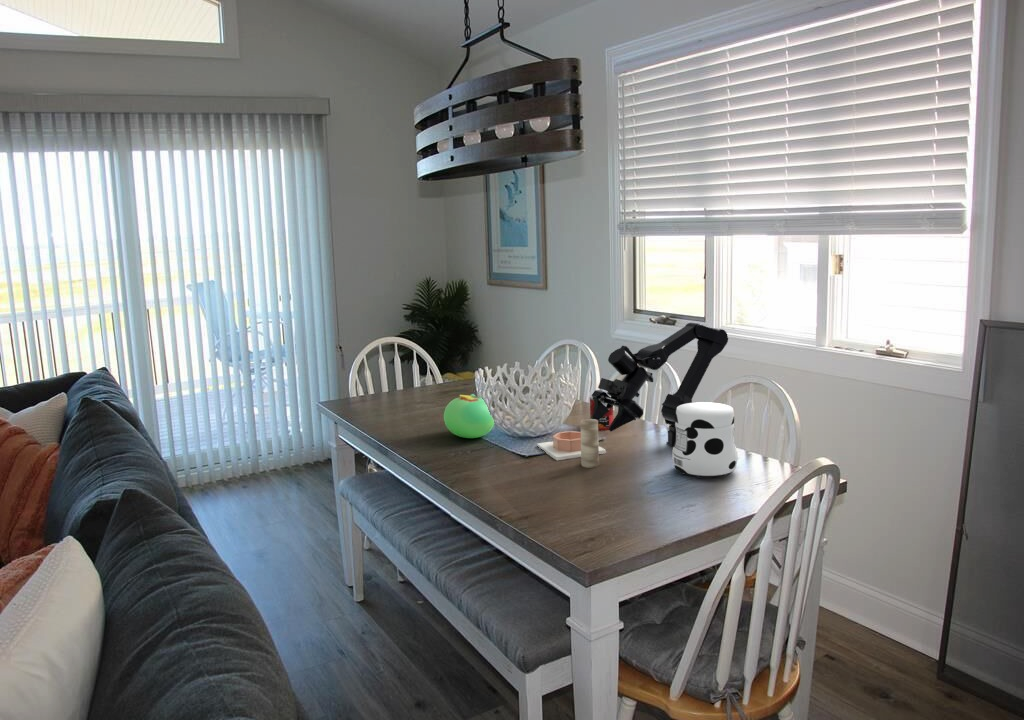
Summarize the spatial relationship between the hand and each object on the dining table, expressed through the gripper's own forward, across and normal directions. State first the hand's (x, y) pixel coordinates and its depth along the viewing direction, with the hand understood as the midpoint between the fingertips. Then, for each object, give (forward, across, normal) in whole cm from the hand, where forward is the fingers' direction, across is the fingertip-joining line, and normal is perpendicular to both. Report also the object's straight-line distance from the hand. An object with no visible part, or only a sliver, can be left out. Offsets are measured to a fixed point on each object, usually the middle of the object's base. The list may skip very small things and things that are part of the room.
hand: (600, 427), depth 222 cm
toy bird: (+21, -48, -5) cm, 52 cm away
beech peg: (+10, 0, +5) cm, 11 cm away
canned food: (-8, -32, +23) cm, 40 cm away
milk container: (-5, +24, +20) cm, 31 cm away
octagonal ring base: (+8, -16, +7) cm, 19 cm away
